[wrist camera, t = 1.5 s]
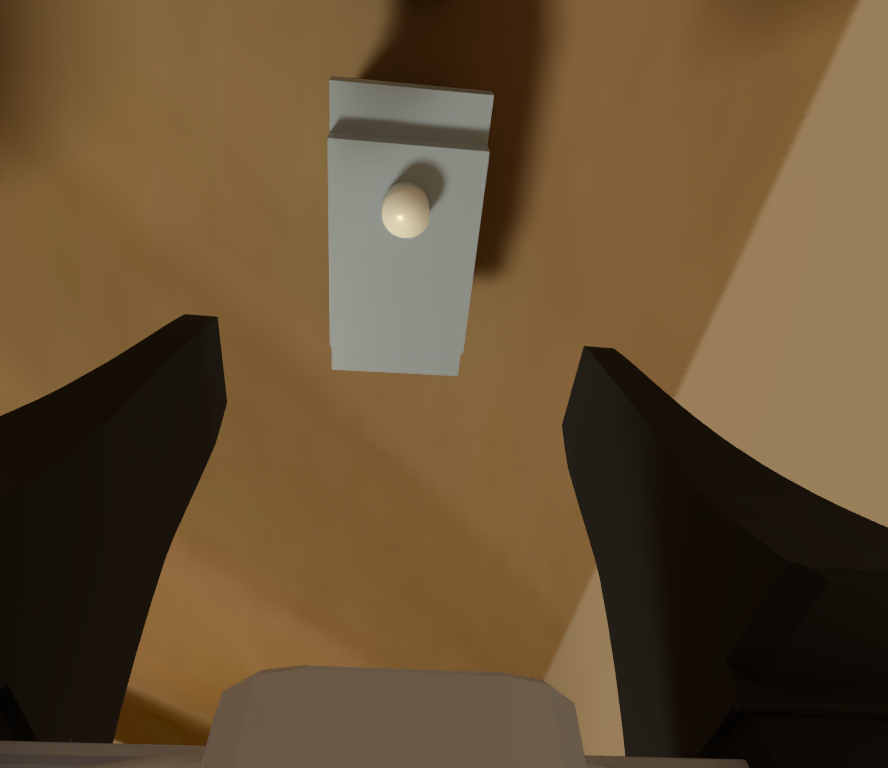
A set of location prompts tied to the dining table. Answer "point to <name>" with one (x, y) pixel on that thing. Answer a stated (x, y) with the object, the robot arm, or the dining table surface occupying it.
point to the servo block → (403, 222)
